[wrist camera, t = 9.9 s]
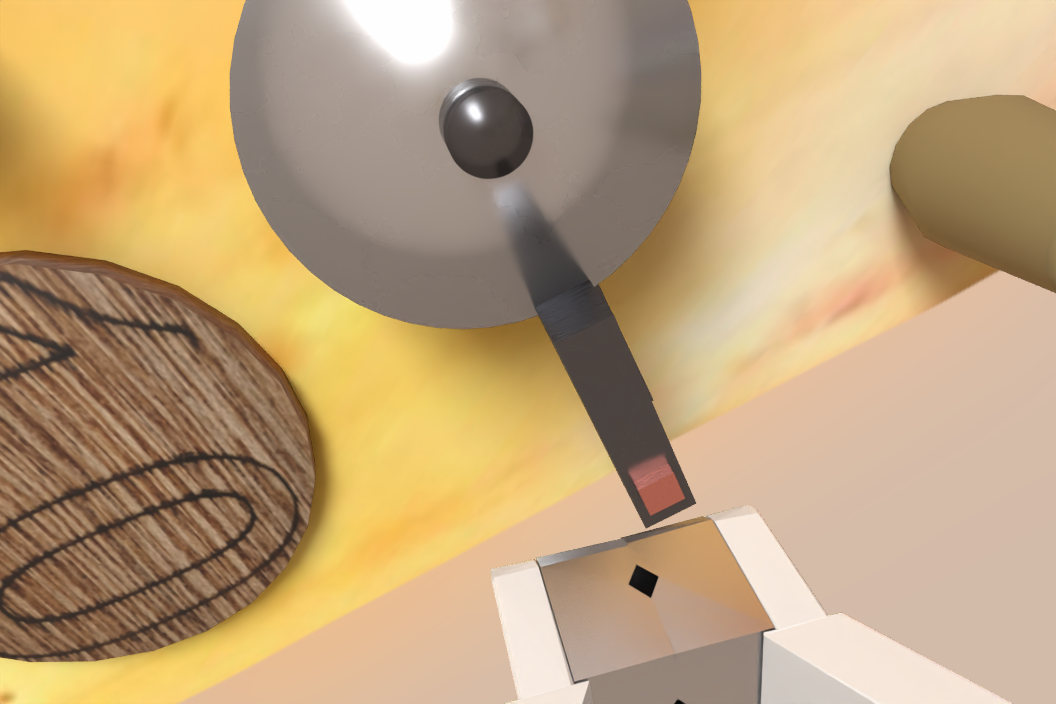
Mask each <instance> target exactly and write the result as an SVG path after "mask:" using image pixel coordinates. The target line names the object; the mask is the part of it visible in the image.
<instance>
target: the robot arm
mask: <svg viewBox="0 0 1056 704" xmlns="http://www.w3.org/2000/svg"><path fill="white" fill-rule="evenodd" d="M491 578H492V585H493V589H494V594H495V598H496V602H497V607H498V611H499V616H500V620H501V625H502V629H503V634H504V638H505V643H506V647H507V652H508V656H509V660H510V665H511V669H512V674H513V678H514V683H515V687H516V691H517V696H518V699H517V700H513V701H510V702H507V703H504V704H1013V703H1011V702H1009V701H1007V700H1005V699H1003V698H1002V697H1000V696H998V695H996V694H994V693H992V692H990V691H988V690H987V689H985V688H983V687H981V686H979V685H977V684H975V683H973V682H971V681H969V680H968V679H966V678H964V677H962V676H960V675H958V674H957V673H955V672H953V671H951V670H949V669H947V668H945V667H943V666H941V665H940V664H938V663H936V662H934V661H932V660H930V659H928V658H927V657H925V656H923V655H921V654H919V653H917V652H915V651H913V650H912V649H910V648H908V647H906V646H904V645H902V644H900V643H898V642H897V641H895V640H893V639H891V638H889V637H887V636H885V635H883V634H882V633H880V632H878V631H876V630H874V629H872V628H870V627H868V626H867V625H865V624H863V623H861V622H859V621H857V620H855V619H853V618H852V617H850V616H848V615H846V614H844V613H842V612H841V613H836V614H832V615H828V614H827V613H826V611H825V610H824V608H823V607H822V606H821V604H820V602H819V601H818V600H817V598H816V597H815V595H814V593H813V592H812V591H811V589H810V588H809V586H808V585H807V583H806V582H805V580H804V579H803V577H802V576H801V574H800V573H799V571H798V570H797V568H796V567H795V565H794V564H793V562H792V561H791V559H790V558H789V556H788V555H787V553H786V552H785V550H784V549H783V547H782V546H781V544H780V543H779V541H778V540H777V539H776V537H775V536H774V534H773V533H772V531H771V530H770V528H769V527H768V525H767V524H766V522H765V521H764V519H763V518H762V516H761V515H760V513H759V512H758V510H757V509H755V508H753V507H752V506H751V505H745V506H742V507H738V508H734V509H730V510H726V511H722V512H718V513H714V514H711V515H708V516H706V517H703V516H702V517H698V518H694V519H691V520H687V521H683V522H679V523H675V524H672V525H668V526H664V527H661V528H656V529H653V530H649V531H645V532H642V533H638V534H634V535H630V536H626V537H622V538H621V539H618V540H614V541H609V542H605V543H600V544H596V545H592V546H587V547H583V548H578V549H574V550H569V551H565V552H561V553H556V554H552V555H548V556H543V557H539V558H536V561H535V559H533V560H529V561H524V562H520V563H516V564H511V565H507V566H503V567H499V568H494V569H491Z"/></svg>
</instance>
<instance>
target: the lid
mask: <svg viewBox="0 0 1056 704" xmlns="http://www.w3.org/2000/svg"><path fill="white" fill-rule="evenodd" d="M700 102H701V65H700V55H699V45H698V39H697V34H696V30H695V25H694V21H693V16H692V12H691V9H690V6H689V4H688V1H687V0H246V2H245V4H244V7H243V11H242V14H241V18H240V21H239V25H238V28H237V32H236V35H235V39H234V47H233V54H232V61H231V69H230V111H231V118H232V126H233V133H234V140H235V144H236V148H237V151H238V155H239V158H240V162H241V165H242V169H243V172H244V175H245V177H246V179H247V182H248V184H249V186H250V189H251V191H252V194H253V196H254V198H255V201H256V202H257V204H258V206H259V208H260V209H261V211H262V213H263V214H264V216H265V218H266V219H267V221H268V223H269V224H270V226H271V228H272V229H273V230H274V232H275V233H276V234H277V236H278V237H279V238H280V239H281V241H282V242H283V243H284V245H285V246H286V247H287V248H288V250H289V251H290V252H291V253H292V254H293V255H294V256H295V257H296V258H297V259H298V260H299V261H300V262H301V263H302V264H303V265H304V266H305V267H306V268H307V269H308V270H309V271H310V272H311V273H312V274H314V275H315V276H316V277H318V278H319V279H320V280H321V281H323V282H324V283H325V284H327V285H328V286H329V287H331V288H332V289H333V290H335V291H336V292H338V293H340V294H341V295H343V296H345V297H347V298H348V299H350V300H352V301H353V302H355V303H357V304H359V305H361V306H363V307H365V308H368V309H370V310H372V311H375V312H377V313H379V314H382V315H384V316H387V317H391V318H394V319H398V320H401V321H404V322H408V323H412V324H418V325H424V326H430V327H436V328H453V329H471V328H485V327H494V326H499V325H505V324H510V323H515V322H519V321H522V320H526V319H529V318H532V317H535V316H539V318H540V320H541V322H542V324H543V326H544V328H545V330H546V332H547V334H548V336H549V338H550V340H551V342H552V344H553V346H554V348H555V350H556V352H557V353H558V355H559V357H560V359H561V361H562V363H563V365H564V367H565V369H566V371H567V373H568V375H569V377H570V379H571V381H572V383H573V385H574V387H575V389H576V391H577V393H578V395H579V397H580V399H581V401H582V403H583V405H584V407H585V409H586V411H587V413H588V415H589V417H590V419H591V421H592V423H593V425H594V427H595V429H596V431H597V433H598V435H599V437H600V439H601V441H602V443H603V445H604V447H605V449H606V451H607V453H608V455H609V457H610V459H611V461H612V463H613V465H614V467H615V469H616V471H617V473H618V475H619V477H620V478H621V481H622V482H623V485H624V486H625V488H626V490H627V492H628V494H629V496H630V498H631V500H632V502H633V504H634V506H635V508H636V510H637V512H638V514H639V516H640V518H641V520H642V521H643V524H644V526H645V527H646V528H648V527H650V526H652V525H654V524H656V523H658V522H660V521H662V520H664V519H666V518H668V517H670V516H672V515H674V514H676V513H678V512H680V511H682V510H684V509H686V508H688V507H690V506H692V505H694V504H696V502H695V499H694V497H693V495H692V493H691V490H690V488H689V486H688V483H687V481H686V479H685V477H684V474H683V472H682V470H681V468H680V465H679V463H678V461H677V459H676V456H675V454H674V452H673V449H672V447H671V445H670V442H669V440H668V438H667V436H666V433H665V431H664V429H663V426H662V424H661V422H660V420H659V417H658V415H657V413H656V410H655V408H654V406H653V404H652V401H651V399H650V397H649V394H648V392H647V390H646V388H645V385H644V383H643V381H642V379H641V376H640V374H639V372H638V369H637V367H636V365H635V363H634V360H633V358H632V356H631V353H630V351H629V349H628V347H627V344H626V342H625V340H624V337H623V335H622V333H621V331H620V328H619V326H618V324H617V321H616V319H615V317H614V315H613V313H612V312H611V310H610V309H609V307H608V306H607V304H606V303H605V302H604V300H603V299H602V297H601V296H600V294H599V293H598V291H597V290H596V288H595V286H596V285H597V284H599V283H600V282H601V281H603V280H604V279H606V278H607V277H608V276H610V275H611V274H612V273H613V272H614V271H615V270H616V269H617V268H619V267H620V266H621V265H622V264H623V263H624V262H625V261H626V260H627V259H628V258H629V257H630V256H631V255H632V254H633V253H634V252H635V251H636V250H637V248H638V247H639V246H640V245H641V244H642V243H643V242H644V240H645V239H646V238H647V237H648V236H649V234H650V233H651V232H652V230H653V229H654V227H655V226H656V224H657V223H658V221H659V220H660V218H661V217H662V215H663V214H664V213H665V211H666V209H667V207H668V205H669V203H670V201H671V200H672V198H673V196H674V194H675V192H676V190H677V188H678V186H679V184H680V181H681V179H682V176H683V173H684V171H685V168H686V166H687V163H688V161H689V157H690V153H691V150H692V146H693V142H694V138H695V135H696V130H697V123H698V116H699V109H700Z"/></svg>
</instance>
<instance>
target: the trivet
mask: <svg viewBox="0 0 1056 704" xmlns="http://www.w3.org/2000/svg"><path fill="white" fill-rule="evenodd" d="M314 484H315V459H314V454H313V448H312V442H311V437H310V431H309V426H308V420H307V415H306V413H305V411H304V409H303V407H302V406H301V404H300V402H299V400H298V398H297V396H296V394H295V393H294V391H293V389H292V387H291V385H290V383H289V381H288V379H287V378H286V376H285V374H284V372H283V370H282V368H281V367H280V366H279V365H278V364H277V363H276V362H275V361H274V360H273V359H272V358H271V357H270V356H269V355H268V353H267V352H266V351H265V350H264V349H263V348H262V347H261V346H260V345H259V344H258V343H257V342H256V341H255V340H254V339H253V338H252V337H251V336H250V335H249V334H248V333H247V332H246V331H245V330H244V329H243V328H242V327H241V326H240V325H239V324H238V323H237V322H235V321H234V320H232V319H231V318H229V317H227V316H226V315H224V314H223V313H221V312H219V311H218V310H216V309H215V308H213V307H211V306H210V305H208V304H207V303H205V302H203V301H202V300H200V299H199V298H197V297H195V296H194V295H192V294H191V293H189V292H187V291H186V290H184V289H182V288H181V287H179V286H177V285H174V284H171V283H168V282H165V281H163V280H160V279H157V278H154V277H151V276H148V275H146V274H143V273H140V272H137V271H134V270H131V269H128V268H126V267H123V266H120V265H117V264H114V263H111V262H109V261H105V260H97V259H89V258H82V257H74V256H66V255H59V254H51V253H43V252H35V251H28V250H23V251H12V252H0V657H1V658H8V659H14V660H21V661H27V662H71V661H98V660H104V659H109V658H115V657H121V656H126V655H132V654H138V653H143V652H149V651H154V650H157V649H159V648H162V647H165V646H167V645H170V644H173V643H176V642H178V641H181V640H184V639H186V638H189V637H192V636H194V635H197V634H200V633H202V632H205V631H207V630H209V629H211V628H212V627H214V626H215V625H217V624H219V623H220V622H222V621H223V620H225V619H227V618H228V617H230V616H231V615H233V614H235V613H236V612H238V611H239V610H241V609H243V608H244V607H246V606H247V605H249V604H251V603H252V602H253V601H254V600H255V599H256V598H257V597H258V596H259V595H260V594H261V593H262V592H263V591H264V590H265V589H266V587H267V586H268V585H269V584H270V583H271V582H272V581H273V580H274V579H275V578H276V577H277V576H278V575H279V574H280V573H281V572H282V571H283V570H284V569H285V568H286V566H287V564H288V563H289V561H290V559H291V557H292V555H293V553H294V551H295V549H296V547H297V546H298V544H299V542H300V540H301V538H302V536H303V534H304V532H305V530H306V528H307V527H308V521H309V515H310V509H311V503H312V497H313V491H314Z"/></svg>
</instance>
